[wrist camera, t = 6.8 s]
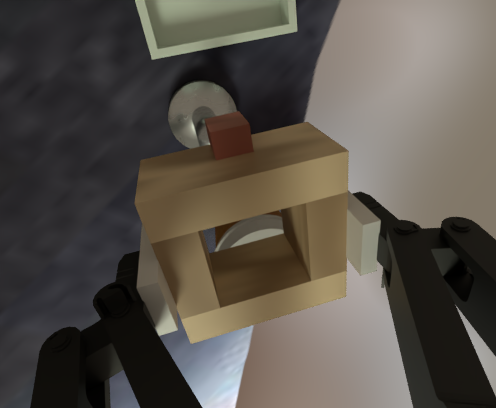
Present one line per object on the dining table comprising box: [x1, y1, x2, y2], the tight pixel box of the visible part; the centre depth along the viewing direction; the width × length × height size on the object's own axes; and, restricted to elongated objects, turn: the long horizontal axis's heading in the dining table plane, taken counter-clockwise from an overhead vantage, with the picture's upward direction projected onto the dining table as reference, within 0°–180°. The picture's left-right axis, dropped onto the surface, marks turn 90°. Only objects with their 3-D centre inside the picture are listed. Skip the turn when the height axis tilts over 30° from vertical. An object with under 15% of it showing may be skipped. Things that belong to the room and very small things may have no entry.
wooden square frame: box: [135, 111, 349, 344], centre depth 15 cm, size 8×9×4 cm
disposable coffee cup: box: [214, 210, 284, 252], centre depth 35 cm, size 10×10×12 cm
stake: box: [168, 80, 237, 149], centre depth 30 cm, size 7×7×9 cm
